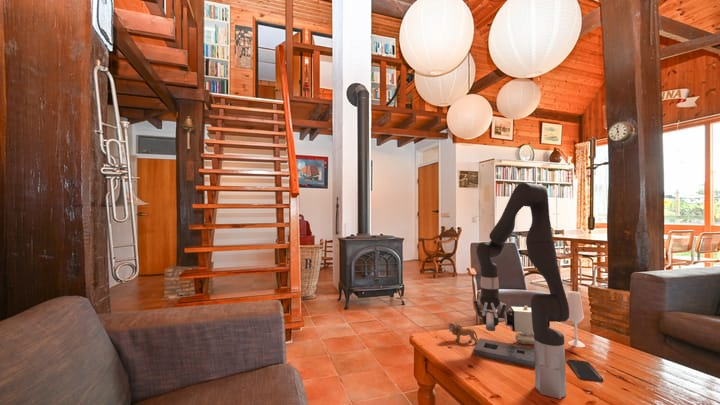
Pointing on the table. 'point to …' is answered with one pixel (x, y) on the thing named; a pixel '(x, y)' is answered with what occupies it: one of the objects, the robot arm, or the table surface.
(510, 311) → the security camera
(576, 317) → the champagne flute
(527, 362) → the grey board with holes
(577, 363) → the phone
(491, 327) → the flashlight
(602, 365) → the table surface
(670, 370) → the table surface
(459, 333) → the lion figurine
